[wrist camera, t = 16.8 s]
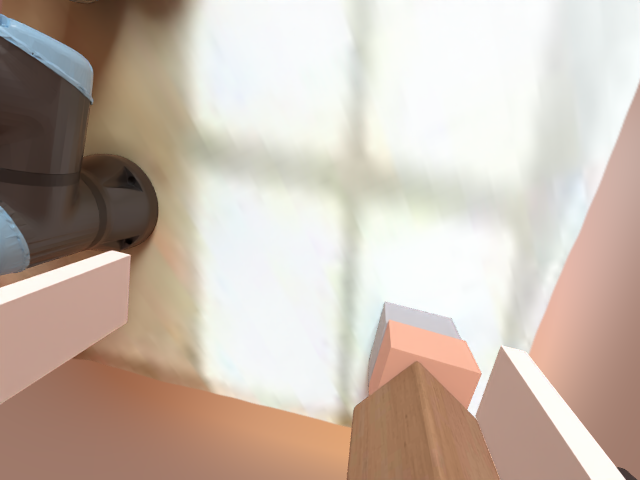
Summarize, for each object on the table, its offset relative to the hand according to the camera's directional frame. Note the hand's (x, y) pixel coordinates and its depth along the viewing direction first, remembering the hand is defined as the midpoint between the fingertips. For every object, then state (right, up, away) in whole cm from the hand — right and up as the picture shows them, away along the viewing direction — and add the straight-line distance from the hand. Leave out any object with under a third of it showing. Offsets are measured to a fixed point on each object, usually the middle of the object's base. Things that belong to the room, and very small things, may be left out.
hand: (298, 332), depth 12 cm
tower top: (+13, -13, +34) cm, 39 cm away
